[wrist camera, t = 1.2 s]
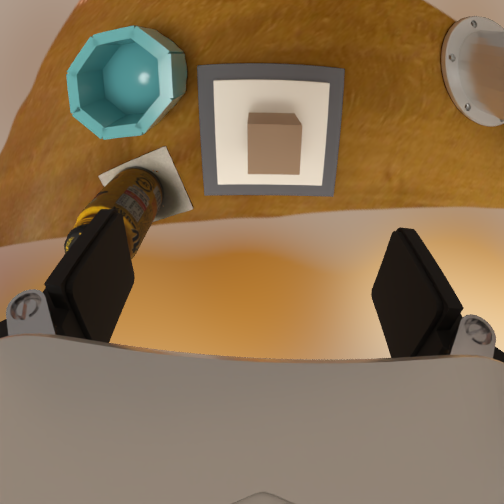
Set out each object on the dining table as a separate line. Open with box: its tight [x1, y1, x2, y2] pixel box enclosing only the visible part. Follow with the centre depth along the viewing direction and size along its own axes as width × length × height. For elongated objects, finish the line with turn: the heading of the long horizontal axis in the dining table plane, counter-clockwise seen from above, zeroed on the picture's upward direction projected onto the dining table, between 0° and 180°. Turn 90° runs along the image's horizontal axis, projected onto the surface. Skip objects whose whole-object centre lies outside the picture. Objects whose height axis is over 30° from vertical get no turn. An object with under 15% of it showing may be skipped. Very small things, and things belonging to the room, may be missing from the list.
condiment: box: [64, 146, 193, 259], centre depth 27 cm, size 7×8×12 cm
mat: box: [197, 63, 345, 197], centre depth 28 cm, size 13×13×1 cm
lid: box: [213, 79, 330, 186], centre depth 25 cm, size 10×10×6 cm
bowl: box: [66, 26, 188, 140], centre depth 22 cm, size 9×9×6 cm
